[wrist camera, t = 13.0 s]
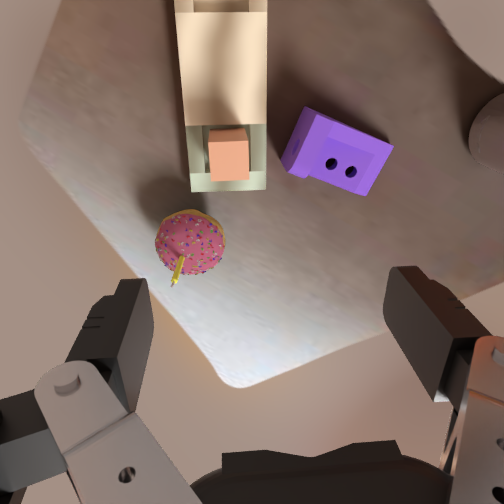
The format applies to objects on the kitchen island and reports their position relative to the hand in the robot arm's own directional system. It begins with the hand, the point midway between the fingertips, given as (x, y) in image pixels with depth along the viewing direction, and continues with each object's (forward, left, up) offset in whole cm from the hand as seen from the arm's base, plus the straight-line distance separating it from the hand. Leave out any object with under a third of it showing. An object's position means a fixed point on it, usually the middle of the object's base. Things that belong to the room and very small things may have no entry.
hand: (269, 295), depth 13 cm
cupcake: (+6, +14, -36) cm, 39 cm away
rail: (+1, -5, -36) cm, 36 cm away
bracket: (-12, +4, -37) cm, 39 cm away
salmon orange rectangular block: (+1, +3, -35) cm, 35 cm away
